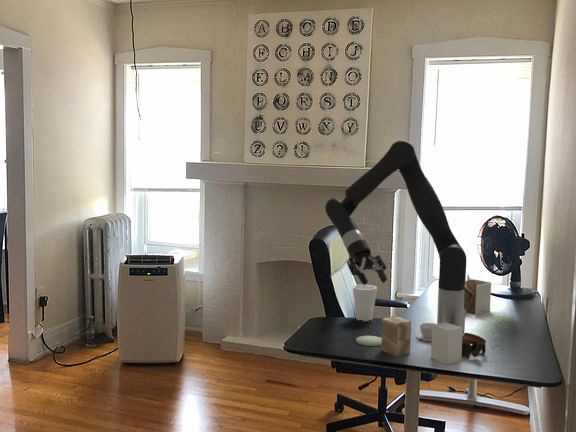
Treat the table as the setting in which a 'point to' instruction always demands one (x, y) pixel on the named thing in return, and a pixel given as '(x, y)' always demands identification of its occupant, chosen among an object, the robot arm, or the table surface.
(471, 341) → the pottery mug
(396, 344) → the tan cardboard box
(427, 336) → the teacup
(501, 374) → the table surface
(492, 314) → the table surface
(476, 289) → the two-tone wooden box
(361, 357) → the table surface
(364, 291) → the foam cup
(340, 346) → the table surface
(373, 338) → the felt mat
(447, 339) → the tall cream pedestal
